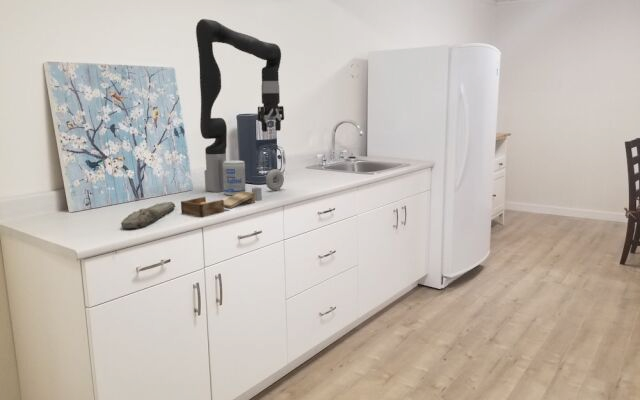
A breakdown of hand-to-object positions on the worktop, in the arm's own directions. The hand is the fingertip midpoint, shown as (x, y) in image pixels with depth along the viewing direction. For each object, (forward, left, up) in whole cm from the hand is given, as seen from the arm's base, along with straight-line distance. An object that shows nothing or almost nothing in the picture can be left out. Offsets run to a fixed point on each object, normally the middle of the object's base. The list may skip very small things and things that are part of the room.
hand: (271, 131), depth 219 cm
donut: (-4, +12, -28) cm, 31 cm away
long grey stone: (-26, -51, -29) cm, 64 cm away
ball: (-13, -40, -27) cm, 49 cm away
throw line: (-10, -31, -28) cm, 43 cm away
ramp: (-7, -22, -28) cm, 36 cm away
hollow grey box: (-3, -10, -28) cm, 30 cm away
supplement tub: (-18, -1, -28) cm, 34 cm away
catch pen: (-12, -38, -28) cm, 49 cm away
